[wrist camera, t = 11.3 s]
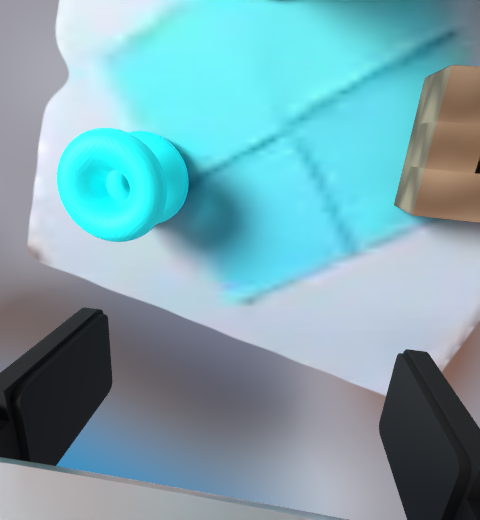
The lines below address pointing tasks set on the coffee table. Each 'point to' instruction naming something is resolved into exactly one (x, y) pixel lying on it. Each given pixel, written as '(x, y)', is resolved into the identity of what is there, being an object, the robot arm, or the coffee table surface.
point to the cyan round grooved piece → (121, 182)
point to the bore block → (444, 148)
